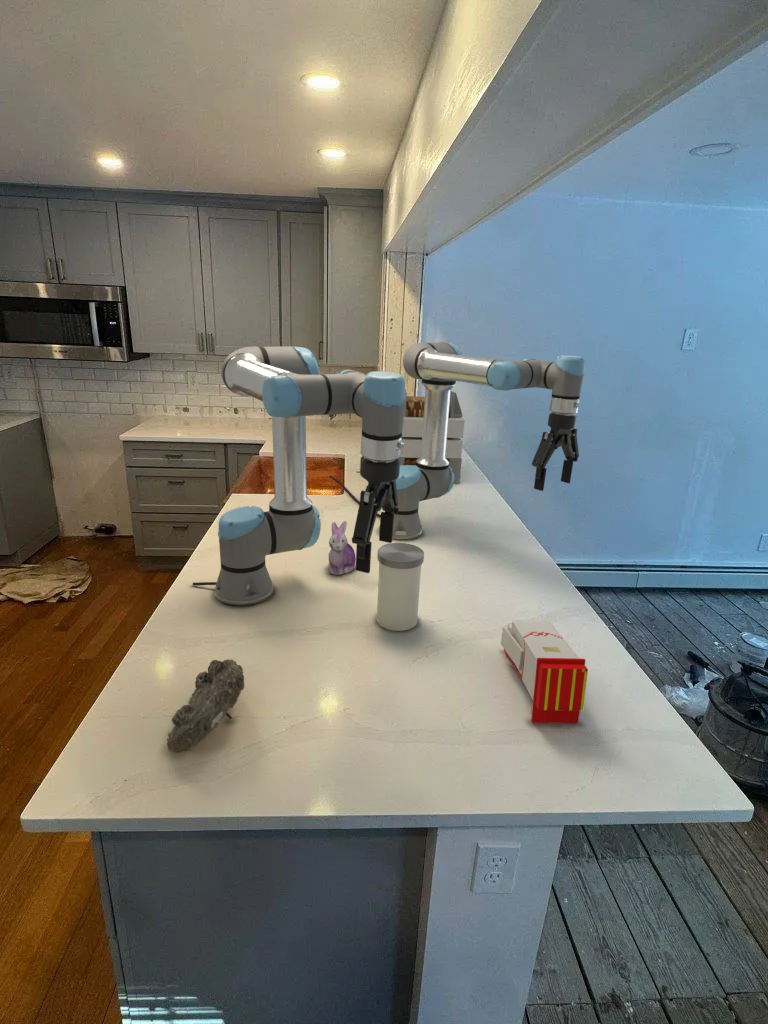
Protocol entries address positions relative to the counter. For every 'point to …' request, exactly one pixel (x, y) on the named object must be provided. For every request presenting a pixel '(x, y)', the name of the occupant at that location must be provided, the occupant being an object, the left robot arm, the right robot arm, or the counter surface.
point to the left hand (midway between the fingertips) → (374, 555)
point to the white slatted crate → (415, 430)
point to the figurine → (340, 551)
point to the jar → (398, 597)
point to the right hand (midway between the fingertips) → (552, 485)
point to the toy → (547, 670)
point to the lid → (400, 555)
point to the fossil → (206, 705)
